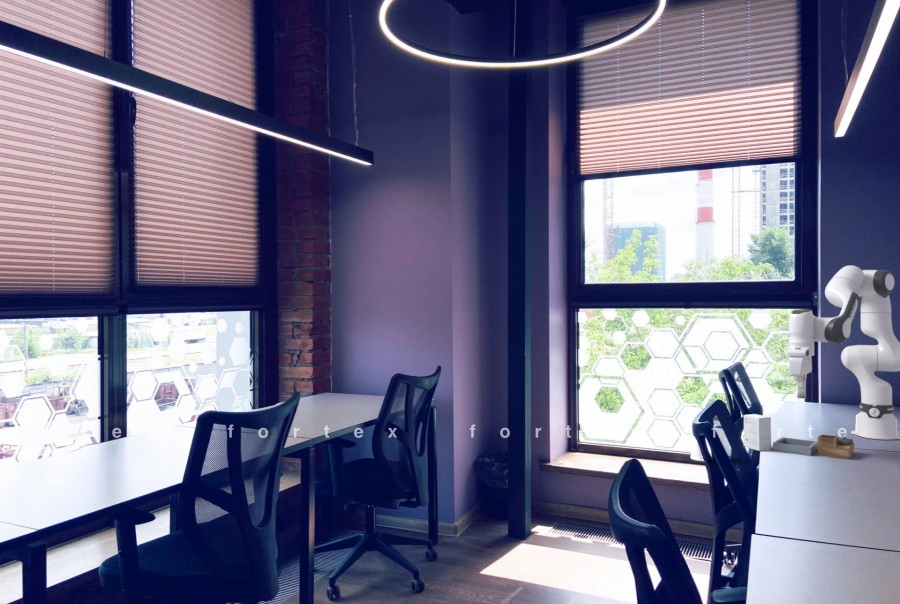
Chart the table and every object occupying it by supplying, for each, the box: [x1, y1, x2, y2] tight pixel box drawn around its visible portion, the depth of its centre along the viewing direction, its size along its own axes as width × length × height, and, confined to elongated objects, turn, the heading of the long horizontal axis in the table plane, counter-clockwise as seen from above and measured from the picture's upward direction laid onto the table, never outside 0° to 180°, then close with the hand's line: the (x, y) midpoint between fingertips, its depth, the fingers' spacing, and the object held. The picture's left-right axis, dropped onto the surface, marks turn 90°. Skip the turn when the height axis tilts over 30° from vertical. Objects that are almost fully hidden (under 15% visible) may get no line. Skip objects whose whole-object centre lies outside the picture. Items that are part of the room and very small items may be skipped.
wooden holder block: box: [817, 433, 855, 460], centre depth 248 cm, size 12×10×7 cm
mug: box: [690, 428, 705, 462], centre depth 243 cm, size 12×8×12 cm
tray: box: [772, 436, 818, 457], centre depth 255 cm, size 13×13×3 cm
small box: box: [743, 413, 772, 452], centre depth 259 cm, size 8×6×13 cm
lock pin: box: [797, 375, 807, 399], centre depth 253 cm, size 3×3×9 cm
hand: (801, 386), depth 253 cm, fingers closed on lock pin, 3 cm apart
